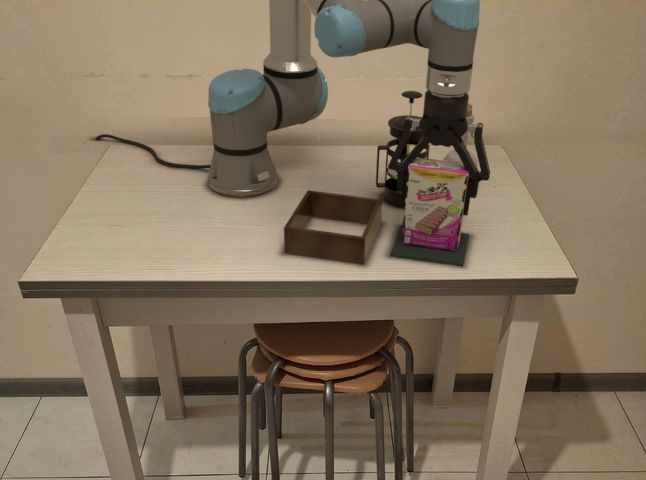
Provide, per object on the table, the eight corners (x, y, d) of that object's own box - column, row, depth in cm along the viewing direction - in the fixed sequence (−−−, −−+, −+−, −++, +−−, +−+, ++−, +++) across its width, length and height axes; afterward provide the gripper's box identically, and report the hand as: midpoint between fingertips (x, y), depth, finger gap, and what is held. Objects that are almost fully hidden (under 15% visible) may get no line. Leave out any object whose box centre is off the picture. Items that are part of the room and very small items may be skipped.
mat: (390, 256, 134) (390, 253, 133) (400, 227, 143) (400, 224, 142) (462, 266, 131) (463, 263, 131) (468, 236, 141) (469, 233, 140)
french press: (425, 189, 157) (435, 85, 143) (431, 208, 150) (442, 101, 135) (373, 188, 156) (378, 84, 142) (376, 208, 149) (381, 100, 135)
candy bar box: (400, 245, 136) (406, 166, 125) (404, 233, 139) (411, 155, 129) (457, 253, 134) (468, 173, 124) (460, 241, 138) (471, 162, 127)
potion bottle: (475, 176, 163) (486, 99, 152) (476, 193, 156) (488, 113, 145) (438, 174, 164) (446, 97, 152) (437, 190, 157) (446, 111, 145)
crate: (284, 253, 133) (283, 227, 130) (308, 214, 146) (307, 190, 143) (364, 264, 131) (365, 238, 128) (381, 223, 144) (382, 199, 140)
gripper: (375, 91, 117) (370, 209, 131) (516, 105, 114) (495, 225, 127) (383, 78, 123) (377, 192, 137) (518, 91, 119) (498, 207, 133)
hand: (434, 208), depth 132 cm, fingers closed on candy bar box, 11 cm apart
